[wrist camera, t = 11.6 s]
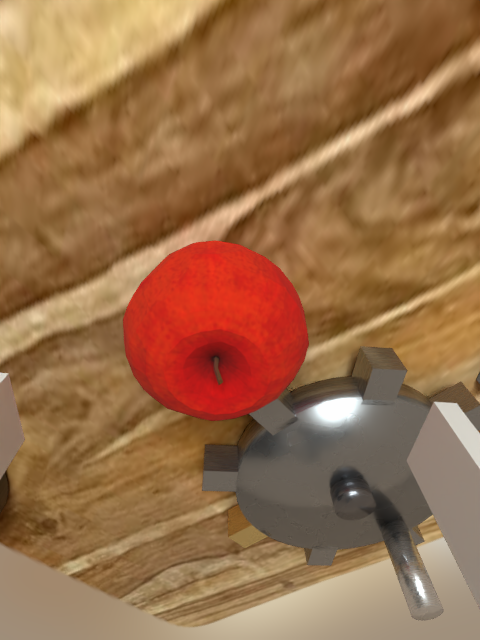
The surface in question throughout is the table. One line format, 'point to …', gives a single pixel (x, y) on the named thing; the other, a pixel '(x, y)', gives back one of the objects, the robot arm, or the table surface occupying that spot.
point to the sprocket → (337, 468)
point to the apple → (215, 331)
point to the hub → (352, 498)
